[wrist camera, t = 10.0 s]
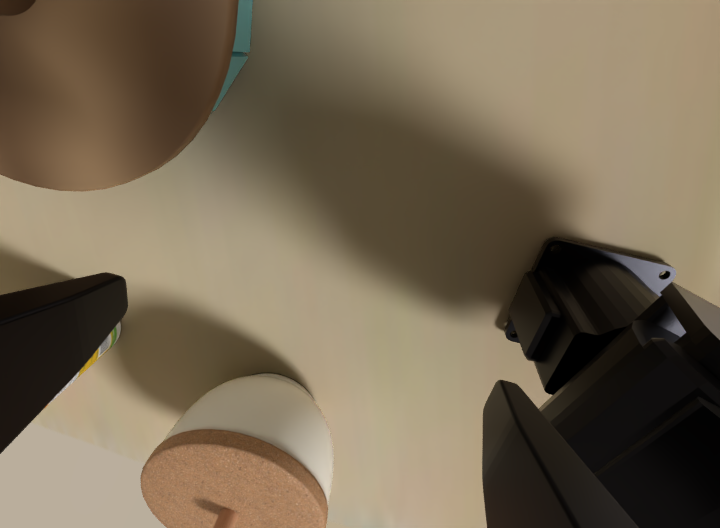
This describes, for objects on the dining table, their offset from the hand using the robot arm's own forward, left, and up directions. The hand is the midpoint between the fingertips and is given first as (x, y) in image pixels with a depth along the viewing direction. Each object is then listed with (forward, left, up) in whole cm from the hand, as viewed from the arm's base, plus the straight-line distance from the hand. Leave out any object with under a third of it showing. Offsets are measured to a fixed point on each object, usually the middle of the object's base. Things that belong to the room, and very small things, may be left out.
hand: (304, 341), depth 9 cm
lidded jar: (+3, +17, -13) cm, 22 cm away
